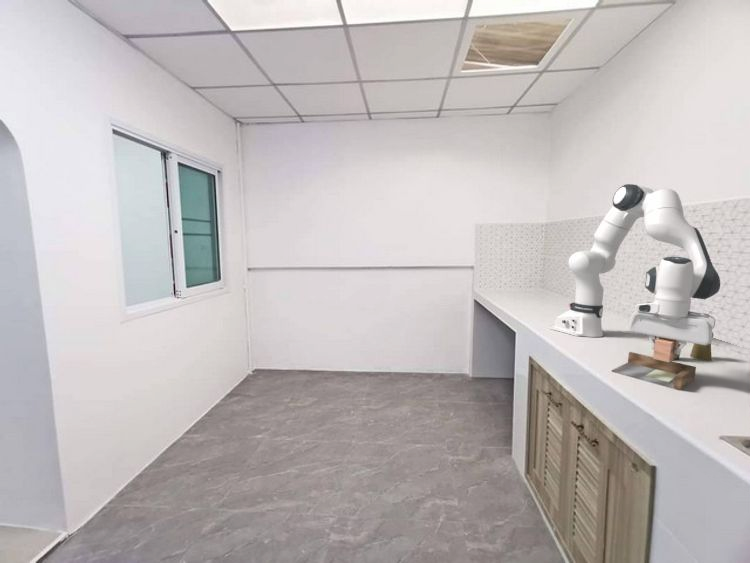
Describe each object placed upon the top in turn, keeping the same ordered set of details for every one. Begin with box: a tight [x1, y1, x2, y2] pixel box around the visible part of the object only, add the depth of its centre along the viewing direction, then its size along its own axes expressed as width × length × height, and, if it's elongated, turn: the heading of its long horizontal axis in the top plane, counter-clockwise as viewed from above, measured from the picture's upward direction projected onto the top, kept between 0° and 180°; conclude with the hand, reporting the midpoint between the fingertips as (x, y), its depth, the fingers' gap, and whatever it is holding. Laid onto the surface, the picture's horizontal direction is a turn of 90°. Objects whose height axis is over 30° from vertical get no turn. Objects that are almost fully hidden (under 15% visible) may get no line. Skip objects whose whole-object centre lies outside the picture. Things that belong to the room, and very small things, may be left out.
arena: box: [611, 351, 697, 391], centre depth 115 cm, size 18×16×4 cm
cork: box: [689, 331, 714, 362], centre depth 133 cm, size 6×6×11 cm
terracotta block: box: [652, 337, 679, 362], centre depth 112 cm, size 8×4×6 cm, turn 126°
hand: (665, 351), depth 112 cm, fingers closed on terracotta block, 4 cm apart
